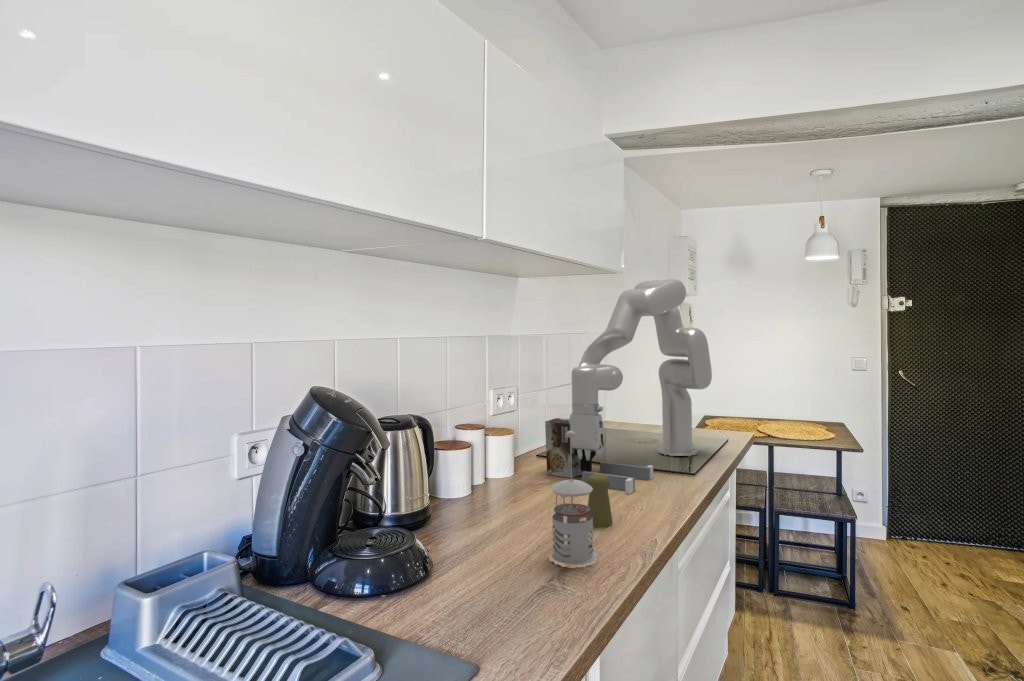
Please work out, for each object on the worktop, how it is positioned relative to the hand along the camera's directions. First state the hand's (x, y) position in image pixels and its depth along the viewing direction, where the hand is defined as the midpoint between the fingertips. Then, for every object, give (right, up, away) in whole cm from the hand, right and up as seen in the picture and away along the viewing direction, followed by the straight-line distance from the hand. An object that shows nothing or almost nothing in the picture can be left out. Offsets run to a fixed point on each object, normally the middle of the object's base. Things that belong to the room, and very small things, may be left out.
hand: (586, 472), depth 174 cm
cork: (-2, -3, -38) cm, 38 cm away
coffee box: (-6, -2, +5) cm, 8 cm away
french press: (-10, -4, -56) cm, 57 cm away
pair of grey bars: (+8, -2, -5) cm, 9 cm away
